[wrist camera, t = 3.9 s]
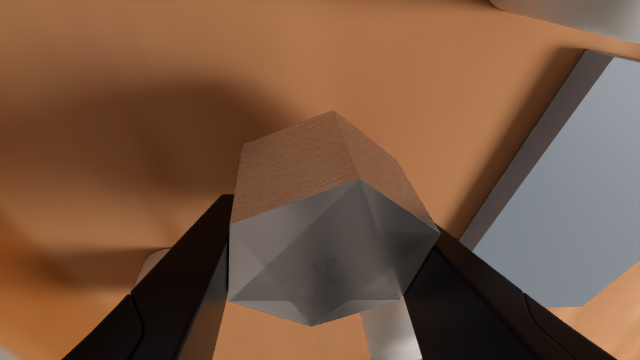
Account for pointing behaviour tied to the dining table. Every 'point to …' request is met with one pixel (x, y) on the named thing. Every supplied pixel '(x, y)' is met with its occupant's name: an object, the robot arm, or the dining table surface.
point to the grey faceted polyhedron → (323, 224)
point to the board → (570, 190)
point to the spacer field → (540, 3)
